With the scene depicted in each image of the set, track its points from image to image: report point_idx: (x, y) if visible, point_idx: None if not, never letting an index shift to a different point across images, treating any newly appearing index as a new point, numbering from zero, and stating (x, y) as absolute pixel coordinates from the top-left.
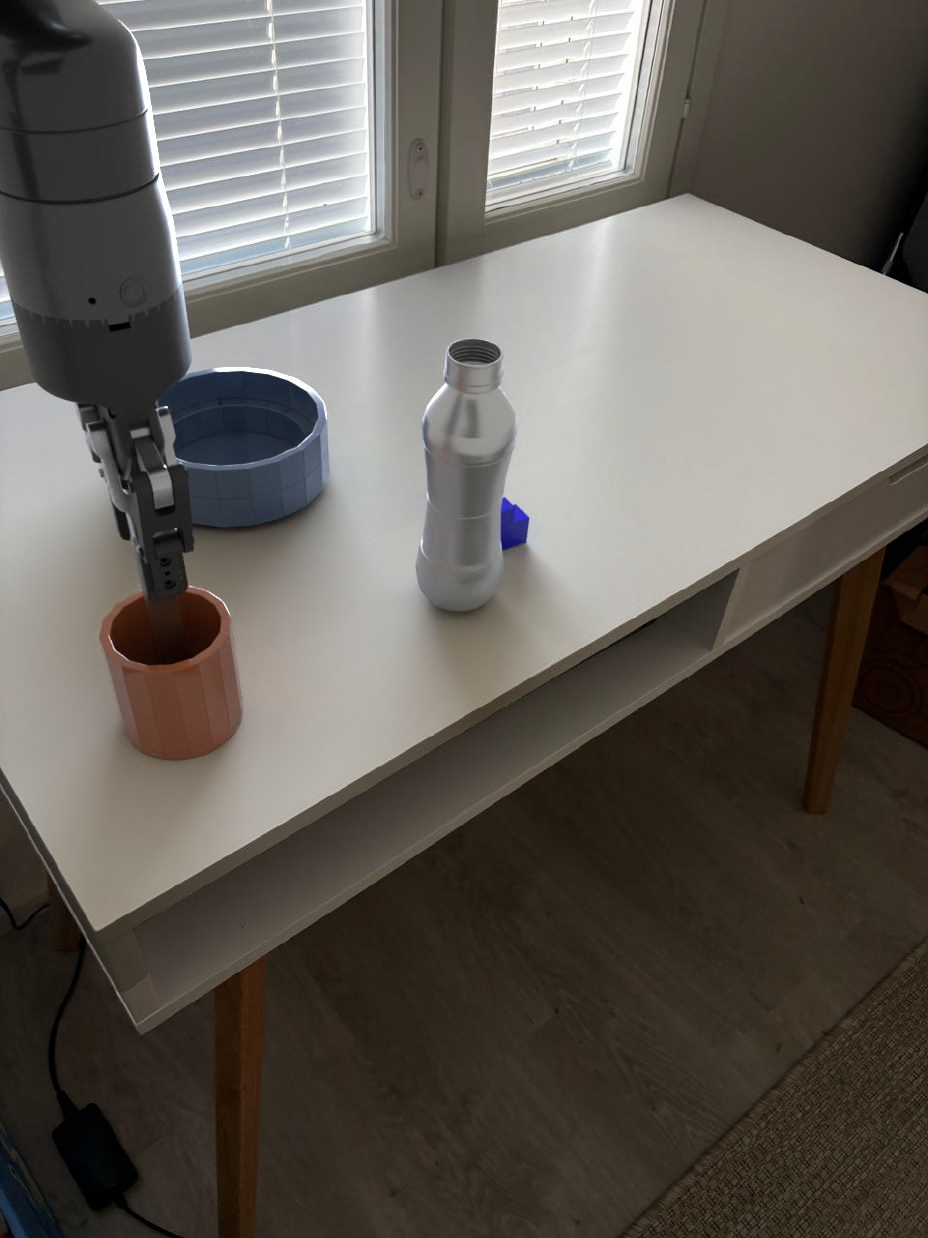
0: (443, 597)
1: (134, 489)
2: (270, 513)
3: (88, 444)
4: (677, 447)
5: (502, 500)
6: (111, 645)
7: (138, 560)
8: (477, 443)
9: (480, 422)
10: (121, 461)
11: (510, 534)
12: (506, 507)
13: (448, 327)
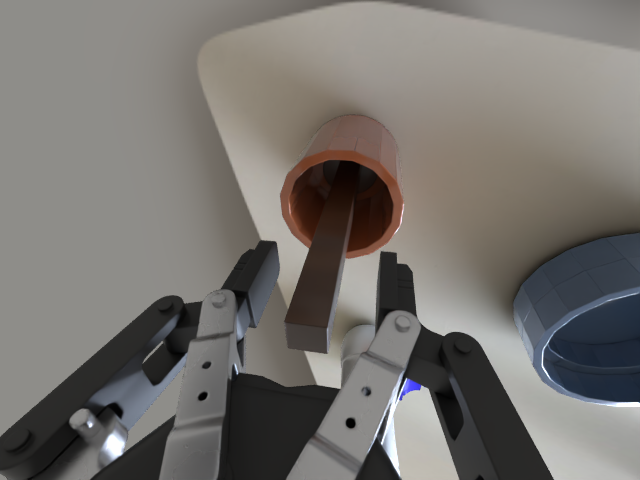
0: (350, 335)
1: (1, 444)
2: (519, 300)
3: (367, 384)
4: (412, 446)
5: (399, 398)
6: (336, 158)
7: (318, 255)
8: None
9: None
10: (136, 447)
11: None
12: None
13: (633, 459)
